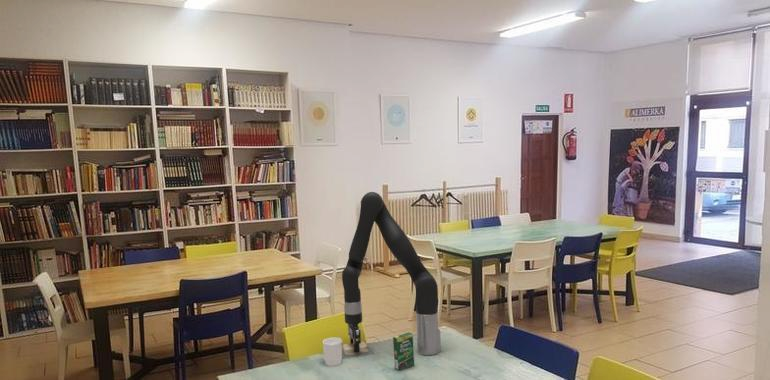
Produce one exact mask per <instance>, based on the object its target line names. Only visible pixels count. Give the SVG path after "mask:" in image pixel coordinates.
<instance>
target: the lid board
mask: <svg viewBox="0 0 770 380" xmlns="http://www.w3.org/2000/svg"><path fill="white" fill-rule="evenodd" d="M367 345H368V344H367V343H366V342H365V341H361V343H359V349H360V351H359V352H357V353H355V352H354V343H344V344H342V351H343V353H344V354H345V356H347V355H354V354H360V353H366V352H368V346H369V345H368V346H367Z"/></svg>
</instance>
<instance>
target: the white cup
mask: <svg viewBox="0 0 770 380" xmlns="http://www.w3.org/2000/svg"><path fill="white" fill-rule="evenodd" d="M342 345H343V339H342V338H340V337H327V338H325V339H323V340H322V349H323V359H324V364H325V365H326V366H328V367H336V366H339V365H341V364H342V363H343V361H342V360H343V359H342Z"/></svg>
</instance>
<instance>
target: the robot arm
mask: <svg viewBox="0 0 770 380" xmlns="http://www.w3.org/2000/svg"><path fill="white" fill-rule="evenodd" d="M359 211H360V212H359V218H358V221H357V222H358V223H357V225H356V229H355V232H354V236H353V238H352V241H351V244H350V248H349V252H348V259H347V262H346V265H345V267H344V269H343V270H342V273H341V280H342V281H341V283H342V286H343V295H344V296H343V297H344V298H343V299H344V305H343V306H344V307H343V310H344V322H345V323H346V324H347V330H348V336H349V338H350V339H349V342H350V343H354V352H355V353H357V352H359V351H360V349H359V343H361V342H362V340H361V339H362V338H361V333H362V331H361V329H360V326H359V324H361V323H362V322H363V304H362V297H361V288H360V286H359V277H360V276H361V273H362V269H363V263H364V260H365V257H366V254H367V250H368V246H369V244H370V243H369V242H370V238H371V234H372V230H373V226H374V223H375V224H376V226H377V227H378V229H379V232H380V235H381V237H382V238H383V240H384V243H385V245H386V246H387V248H388V249H389V251H390V253H391V254H392V255H393V257H394V258H395V259H396V260H397V261H398V262H399V264H400V265H402V267H403V268H404V269H405V270H406V272H407V273H408V275H409V276H410V279H411V281H412V282H413V285H414V288H415V316H416V335H417V336H416V337H417V339H416V341H417V342H416V343H417V353H418V354H419V355H423V356H433V355H437V354H439V353H441V352H442V345H441V330H440V328H439V313H438V312H439V309H438V307H439V292H438V291H439V290H438V289H439V288H438V283H437V281H436V279H435V276H433V275H432V273H431V272H430V271H429V270H428V269H427V267H425V265H424V264H423V263H422V261H421V259H420V257H419V256H418V253H417V251H416V249H415V248H414V246H413V244H412V242H411V241H410V239H409V238H408V236H407V234H406V233H405V231H404V230H403V229H402V227H400V225H399V224H398V222H396V220H395V218H393V216H392V215H391V213H390V211H389V209H388V207H387V206H386V204H385V201H384V199H383V197H382V196H381V195H380V194H379V193H378V192H375V191H369V192H367V193H365V194H364V195H363V197H362V198H361V200H360V210H359ZM350 343H349V344H350Z"/></svg>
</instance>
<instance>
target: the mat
mask: <svg viewBox="0 0 770 380" xmlns="http://www.w3.org/2000/svg"><path fill="white" fill-rule="evenodd" d="M367 346H368V352H366V353H360V354H354V355H347V356H345V354H344V353H343V351H342V360H346V359H351V358H358V357H365V356H370V355H371V356H372V355H375V353H374V351H373V350H372V349H371V348H370V346H369V345H368V344H367Z"/></svg>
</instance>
